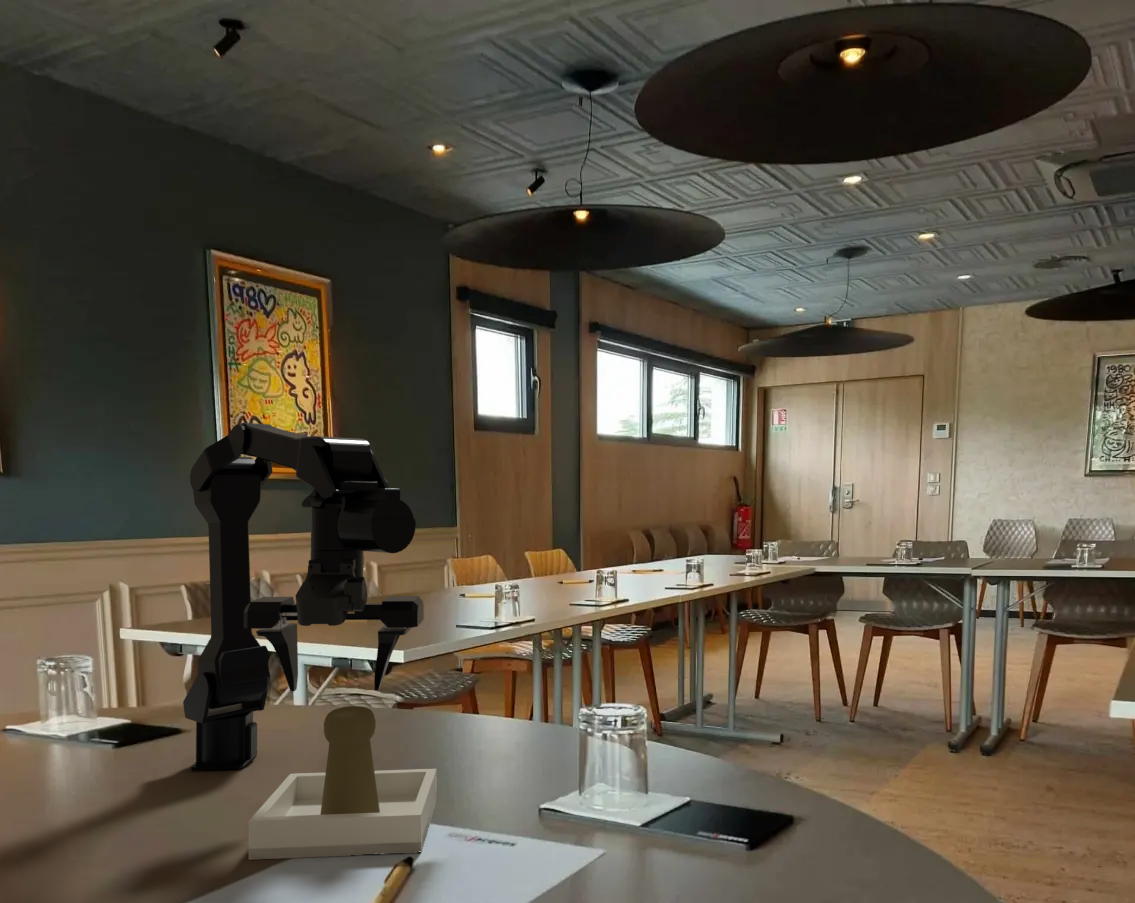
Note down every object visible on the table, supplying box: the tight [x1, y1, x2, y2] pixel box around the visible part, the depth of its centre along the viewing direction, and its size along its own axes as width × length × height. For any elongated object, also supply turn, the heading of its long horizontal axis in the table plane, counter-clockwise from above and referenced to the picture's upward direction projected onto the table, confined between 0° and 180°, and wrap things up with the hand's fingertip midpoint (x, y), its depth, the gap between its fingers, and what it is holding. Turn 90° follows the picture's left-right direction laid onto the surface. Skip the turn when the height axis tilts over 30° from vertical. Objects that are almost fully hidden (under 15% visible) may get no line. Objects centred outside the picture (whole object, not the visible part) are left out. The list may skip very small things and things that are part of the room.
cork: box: [320, 705, 380, 815], centre depth 86 cm, size 6×6×11 cm
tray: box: [248, 768, 438, 861], centre depth 86 cm, size 16×14×4 cm
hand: (335, 690), depth 94 cm, fingers open, 9 cm apart
